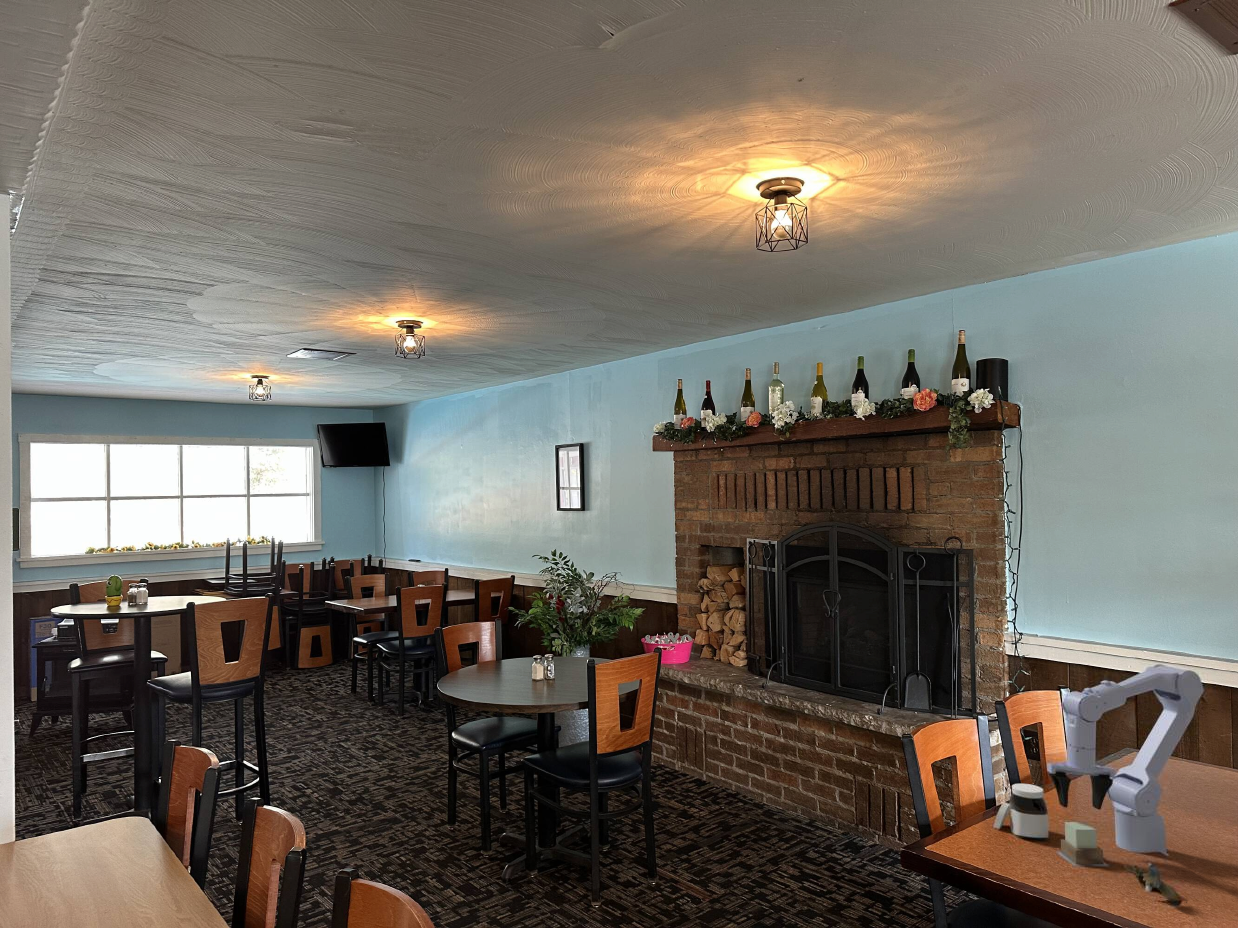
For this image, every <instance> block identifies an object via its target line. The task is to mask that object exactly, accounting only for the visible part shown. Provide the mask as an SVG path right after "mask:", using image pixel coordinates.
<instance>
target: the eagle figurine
mask: <svg viewBox="0 0 1238 928" xmlns="http://www.w3.org/2000/svg"><path fill="white" fill-rule="evenodd" d="M1147 864H1148V867H1149V872H1145V870H1144V867H1143V866H1142V865H1140V870H1139V868H1138V866H1137V864H1136V865H1133V867H1132V868H1133V870H1132V869H1131V868H1129V866H1127V864H1124V865H1123V866H1124V868H1125V869H1126V871H1128V872H1129V873H1131V874H1133V876H1135V878H1136V879H1137V881H1138V883H1139V884H1141V885H1145V891H1146V892H1149V893H1150V892H1152V890H1153V889H1156V890H1159V892H1160V893H1161V895H1162V896H1163V898H1167V899H1164V901H1165V903H1166V904H1168V905H1170V906H1173V907H1180V906H1182V904H1183V903H1182V902H1183V901H1182V899H1177V898H1178V897H1179V894H1178V892H1177V891H1176V890H1175V889H1173V888H1172V887H1171V886H1170V885H1168V884H1167V883H1165V882H1164V881H1162V876H1161V873H1160V871H1159V868H1158V867H1157V866H1156V865H1155V864H1153V863H1151V862H1147ZM1144 878H1145V880H1144Z"/></svg>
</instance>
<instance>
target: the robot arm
mask: <svg viewBox="0 0 1238 928" xmlns="http://www.w3.org/2000/svg"><path fill="white" fill-rule="evenodd" d="M1149 691H1153V693H1154V695H1155V696H1156V698H1157V700H1158V701H1159V703H1161V705H1162V707H1163V710H1162V712H1161V714H1160V715H1159V717H1158V719H1157V720H1156V723H1155V724H1154V726H1153V727H1152V729H1151V731H1150V733H1149V734H1148V736H1147V738H1146V740H1145V741H1144V743H1143V745H1142V746H1141V748H1140V750H1139V752H1138V753H1137V755H1136V756H1135V758H1134V760H1133V762H1132V764H1129V765H1127V766H1124V767H1120V768H1119V769H1118V771H1117V772H1116V769H1115V768H1113V767H1111V766H1104V765H1099V764H1098V765H1097V764H1096V744H1097V743H1096V741H1097V740H1096V739H1097V734H1096V732H1097V721H1099V720H1100V719H1101V718H1102V715H1103V714H1104V713H1107V712H1109V711H1111V710H1114V709H1117V708H1120V707H1121V706H1123V705H1125V704H1126V701H1127V698H1130V697H1133V696H1136V695H1140V694H1143V693H1147V692H1149ZM1204 692H1205V689H1204V686H1203V682H1202V680H1201V677H1200V675H1199V674H1198V673H1196V672H1195V671H1193V670H1190V669H1189V670H1188V669H1187V670H1186V669H1181V668H1177V667H1176V668H1175V667H1172V666H1167V665H1165V664H1160V663H1158V664H1154V665H1153V666H1148V667H1146V668H1145V670H1143V671H1142V672H1140V673H1137V674H1136V675H1133V676H1131V677H1129V678H1127V679H1125V680H1123V681H1120V682H1117V683H1116V682H1115V681H1111V680H1110V681H1109V680H1102V681H1100V684H1099V685H1095V686H1093V687H1086V688H1084V689H1083V691H1082V692H1080V691H1076V690H1075V691H1071V692H1069V693H1067V694H1066V696H1064V699H1063V701H1062V702H1061V708H1062V711H1063V712H1064V714H1065V721H1066V722H1067V730H1066V731H1067V732H1066V733H1067V736H1066V737H1067V739H1066V762H1047V763H1046V772H1048V773H1049V776H1050V778H1051V781H1052V782H1053V785H1054V787H1055V791H1056V794H1057V798H1058V802H1059V803H1058V804H1059V805H1060V806H1061V807H1063V808H1068V805H1069V791H1070V790H1069V789H1070V784H1071V782H1072V778H1070V777H1068V775H1082V776H1089V777H1090V782H1091V789H1092V790H1091V791H1092V792H1091V793H1092V795H1091V797H1092V798H1091V801H1092V807H1093V808H1094V809H1097V810H1100V811H1101V810H1102V805H1103V802H1104V801H1105V797H1106V795H1107V797H1108V799H1110V800H1111V802H1112V803H1111V804H1112V806H1113V807H1114V825H1115V826H1114V827H1115V828H1114V830H1115V845H1116V846H1117V847H1118V848H1121V849H1123V850H1125V851H1127V852H1128V851H1129V852H1132V853H1139V854H1146V853H1147V854H1148V853H1161V854H1163V855H1164V856H1166V857H1169V853H1167V839H1166V838H1167V837H1166V825H1165V822H1164V819H1163V817H1162V816H1161V814H1160V813H1159V812H1157V809H1158V808H1159V805H1160V797H1161V796H1162V794H1163V792H1164V791H1163V787H1162V786H1161V783H1160V782H1159V781H1158V778H1160V775H1161V773H1162V772H1163V770H1164V768H1165V766H1166V765H1167V763H1168V761H1169V759H1170V757H1171V756H1172V754H1173V752H1174V750H1175V749H1176V747H1177V745H1178V743H1179V742H1180V741H1181V739H1182V737H1183V735H1184V733H1185V731H1186V730H1187V728H1188V726H1189V724H1190V723H1191V722H1192V719H1193V717H1194V715H1195V711H1196V710H1195V709H1196V706H1197V704H1198V702H1199V700H1200V698H1201V696H1202V694H1203V693H1204ZM1115 772H1116V773H1115Z"/></svg>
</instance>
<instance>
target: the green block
mask: <svg viewBox="0 0 1238 928" xmlns="http://www.w3.org/2000/svg"><path fill="white" fill-rule="evenodd" d="M1064 836H1065V838H1064V839H1065V840H1066V841H1067V842H1068V843H1070V844H1071V845H1073V846H1074V847H1075V848H1097V846H1098V842H1097V839H1098V837H1097V829H1096V828H1094V827H1093V826H1091V825H1089V823H1087V822H1085V821H1065V822H1064Z"/></svg>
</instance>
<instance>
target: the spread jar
mask: <svg viewBox="0 0 1238 928" xmlns="http://www.w3.org/2000/svg"><path fill="white" fill-rule="evenodd" d="M1011 792H1012V793H1011V795H1009V800H1008V801H1009V802H1005V801H1003V802H1002V804H1001V806H1000V807H999V809H998V812H997V813H996V817H995V820H994V824H993V828H994V829H997V830H1000V829H1001V828H1002V827H1003V825H1004V824H1005V822H1006V819H1007V818H1008V817H1007V816H1008V814H1009V826H1010V832H1011V833H1012V834H1013V835H1014V836H1015V837H1016V838H1019V839H1021V840H1027V841H1036V842H1037V841H1039V842H1040V841H1041V842H1042V841H1047V840H1048V838H1049V814H1048V813H1049V812H1048V805H1047V802H1046V801H1045V799H1044V794H1045V793H1044V789H1043V788H1042V787H1040V786H1038V785H1034V784H1029V783H1014V784H1012V785H1011Z"/></svg>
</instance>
